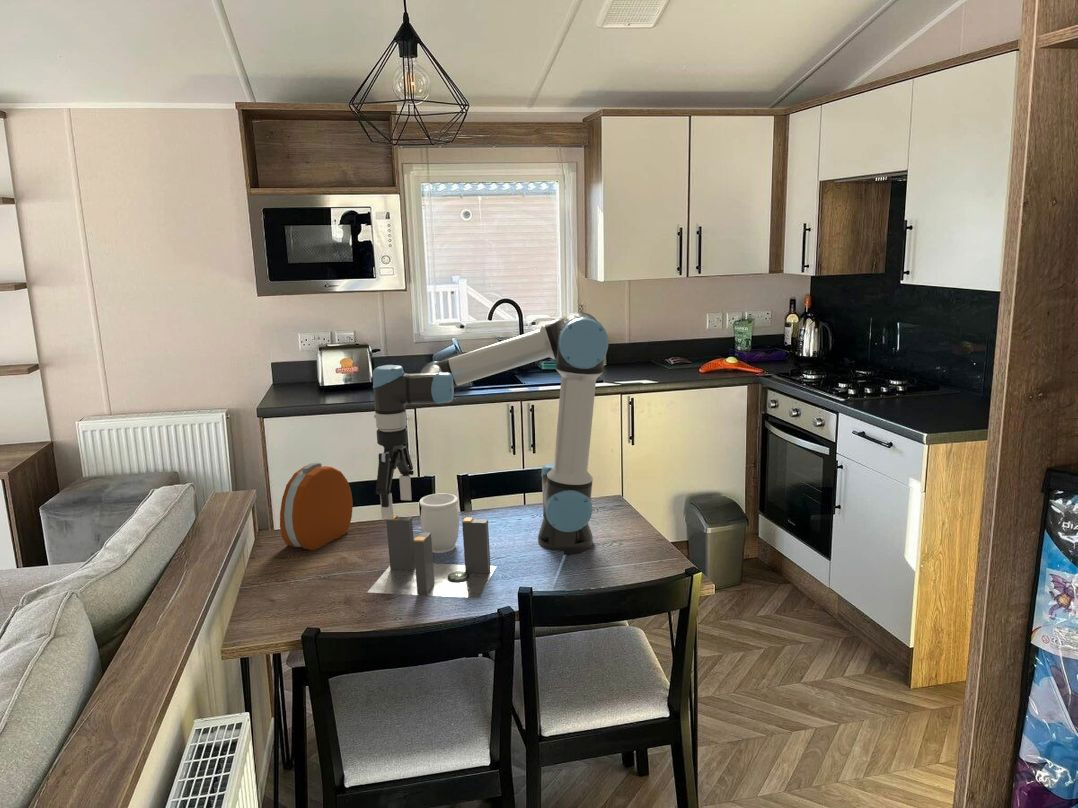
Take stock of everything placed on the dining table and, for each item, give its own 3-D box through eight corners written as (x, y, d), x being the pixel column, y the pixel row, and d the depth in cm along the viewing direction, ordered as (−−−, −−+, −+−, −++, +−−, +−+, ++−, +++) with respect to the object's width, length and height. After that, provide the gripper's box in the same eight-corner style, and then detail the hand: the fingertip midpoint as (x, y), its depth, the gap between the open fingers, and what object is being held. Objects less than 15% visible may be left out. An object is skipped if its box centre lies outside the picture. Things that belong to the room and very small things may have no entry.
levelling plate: (496, 570, 210) (496, 563, 210) (479, 602, 193) (478, 594, 193) (393, 566, 215) (392, 558, 215) (367, 596, 198) (366, 589, 198)
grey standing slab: (425, 583, 201) (421, 530, 198) (434, 584, 201) (430, 530, 198) (417, 594, 196) (413, 540, 192) (427, 595, 195) (423, 540, 192)
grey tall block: (415, 566, 212) (411, 515, 209) (412, 570, 209) (408, 519, 206) (393, 565, 213) (389, 514, 210) (390, 569, 211) (386, 518, 207)
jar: (454, 559, 218) (451, 506, 215) (417, 557, 220) (413, 505, 217) (465, 544, 228) (462, 493, 225) (430, 542, 230) (426, 492, 227)
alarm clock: (330, 523, 248) (323, 451, 243) (355, 528, 243) (349, 455, 238) (276, 550, 229) (267, 473, 224) (303, 555, 224) (295, 477, 219)
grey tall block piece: (490, 569, 208) (487, 518, 205) (488, 573, 206) (485, 521, 203) (467, 568, 209) (464, 517, 206) (465, 572, 207) (462, 520, 204)
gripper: (394, 415, 215) (400, 492, 220) (357, 440, 191) (364, 526, 196) (422, 416, 214) (426, 493, 219) (388, 441, 190) (394, 527, 195)
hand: (397, 508), depth 208 cm, fingers open, 13 cm apart
